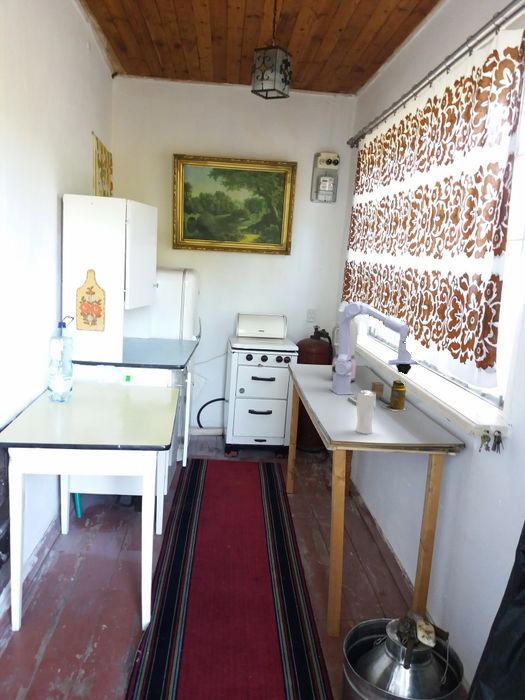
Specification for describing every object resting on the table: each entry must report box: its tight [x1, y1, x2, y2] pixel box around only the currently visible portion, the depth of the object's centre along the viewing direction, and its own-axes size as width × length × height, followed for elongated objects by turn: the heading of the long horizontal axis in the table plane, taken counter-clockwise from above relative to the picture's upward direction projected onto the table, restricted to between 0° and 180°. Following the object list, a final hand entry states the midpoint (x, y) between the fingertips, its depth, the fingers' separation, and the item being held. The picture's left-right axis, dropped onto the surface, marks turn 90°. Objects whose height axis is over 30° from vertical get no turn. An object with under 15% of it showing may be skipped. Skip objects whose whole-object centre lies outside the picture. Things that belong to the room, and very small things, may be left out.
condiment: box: [382, 379, 407, 412], centre depth 228 cm, size 7×8×12 cm
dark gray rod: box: [378, 397, 390, 405], centre depth 238 cm, size 9×1×1 cm, turn 16°
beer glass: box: [355, 390, 377, 435], centre depth 195 cm, size 7×7×15 cm
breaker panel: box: [347, 395, 358, 407], centre depth 234 cm, size 10×8×2 cm
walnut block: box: [370, 381, 385, 400], centre depth 244 cm, size 4×4×7 cm
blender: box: [330, 319, 359, 382], centre depth 271 cm, size 16×12×32 cm
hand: (402, 380), depth 238 cm, fingers closed
